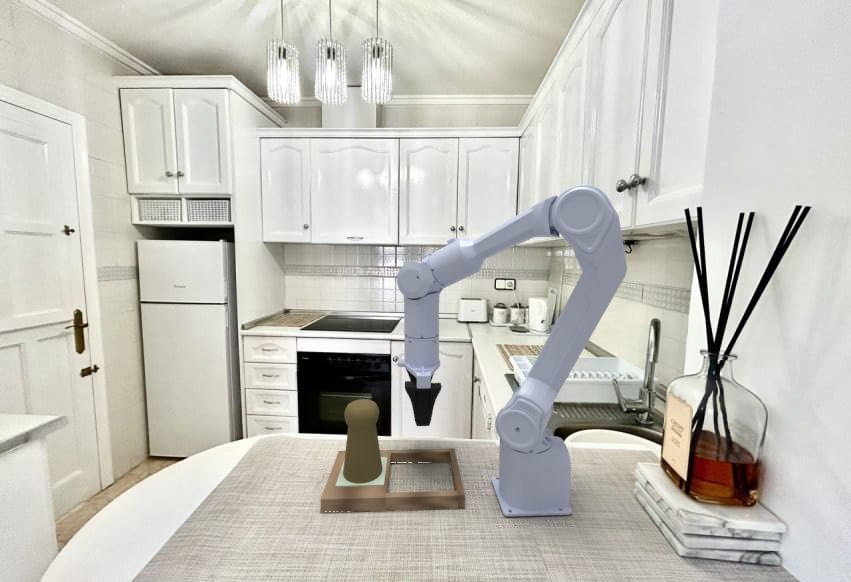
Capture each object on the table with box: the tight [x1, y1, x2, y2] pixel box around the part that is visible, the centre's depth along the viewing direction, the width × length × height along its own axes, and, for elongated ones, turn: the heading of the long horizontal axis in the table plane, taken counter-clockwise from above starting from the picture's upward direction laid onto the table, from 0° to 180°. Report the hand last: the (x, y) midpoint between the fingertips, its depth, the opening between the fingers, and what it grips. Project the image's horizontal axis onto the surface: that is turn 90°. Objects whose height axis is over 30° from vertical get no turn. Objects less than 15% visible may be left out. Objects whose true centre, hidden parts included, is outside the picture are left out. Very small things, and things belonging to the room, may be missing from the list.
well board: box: [319, 447, 466, 513], centre depth 54 cm, size 20×12×2 cm, turn 92°
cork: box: [343, 398, 383, 484], centre depth 53 cm, size 6×6×11 cm
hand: (421, 414), depth 58 cm, fingers open, 7 cm apart
